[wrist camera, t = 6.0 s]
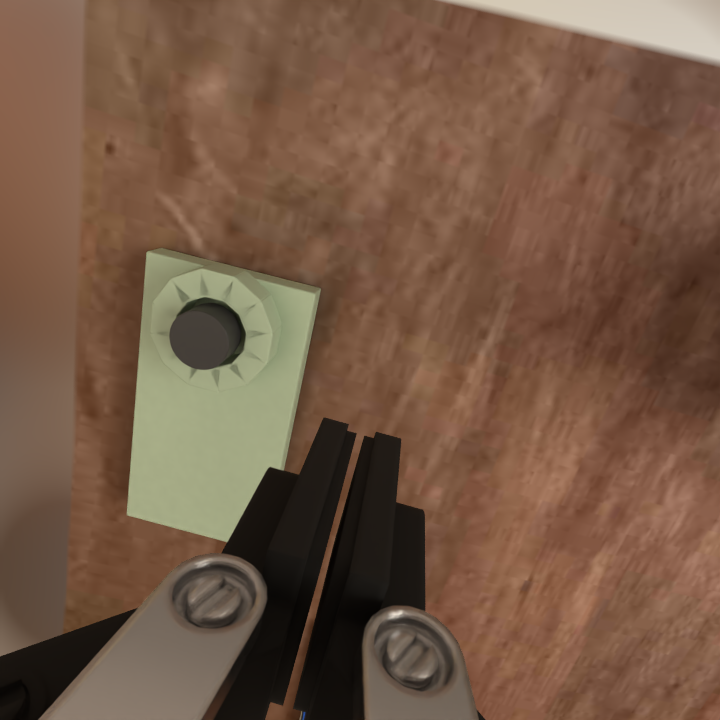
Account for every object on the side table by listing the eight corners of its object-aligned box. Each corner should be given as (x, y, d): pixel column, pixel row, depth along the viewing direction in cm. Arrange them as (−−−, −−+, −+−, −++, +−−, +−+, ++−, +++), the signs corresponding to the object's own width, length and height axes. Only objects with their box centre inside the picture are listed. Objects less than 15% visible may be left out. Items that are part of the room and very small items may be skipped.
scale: (161, 242, 24) (126, 249, 21) (322, 282, 23) (309, 295, 21) (139, 500, 29) (109, 534, 26) (270, 535, 29) (254, 573, 26)
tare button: (188, 296, 22) (171, 303, 20) (245, 310, 21) (232, 319, 20) (182, 350, 22) (166, 361, 21) (237, 364, 22) (224, 376, 21)
